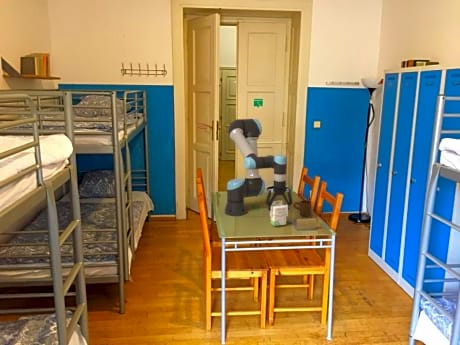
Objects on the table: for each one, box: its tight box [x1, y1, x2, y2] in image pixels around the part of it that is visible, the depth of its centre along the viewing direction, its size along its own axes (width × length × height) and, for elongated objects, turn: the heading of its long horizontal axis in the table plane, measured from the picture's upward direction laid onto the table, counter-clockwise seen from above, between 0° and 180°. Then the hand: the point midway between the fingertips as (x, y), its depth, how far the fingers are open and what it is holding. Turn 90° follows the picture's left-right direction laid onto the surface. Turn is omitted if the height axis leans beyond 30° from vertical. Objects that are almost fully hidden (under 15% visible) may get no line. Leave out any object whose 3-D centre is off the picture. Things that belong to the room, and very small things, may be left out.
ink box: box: [270, 199, 287, 227], centre depth 251 cm, size 9×5×15 cm, turn 113°
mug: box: [292, 200, 312, 218], centre depth 275 cm, size 12×8×9 cm, turn 84°
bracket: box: [288, 217, 317, 231], centre depth 253 cm, size 12×18×7 cm, turn 9°
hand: (278, 215), depth 251 cm, fingers closed on ink box, 9 cm apart
